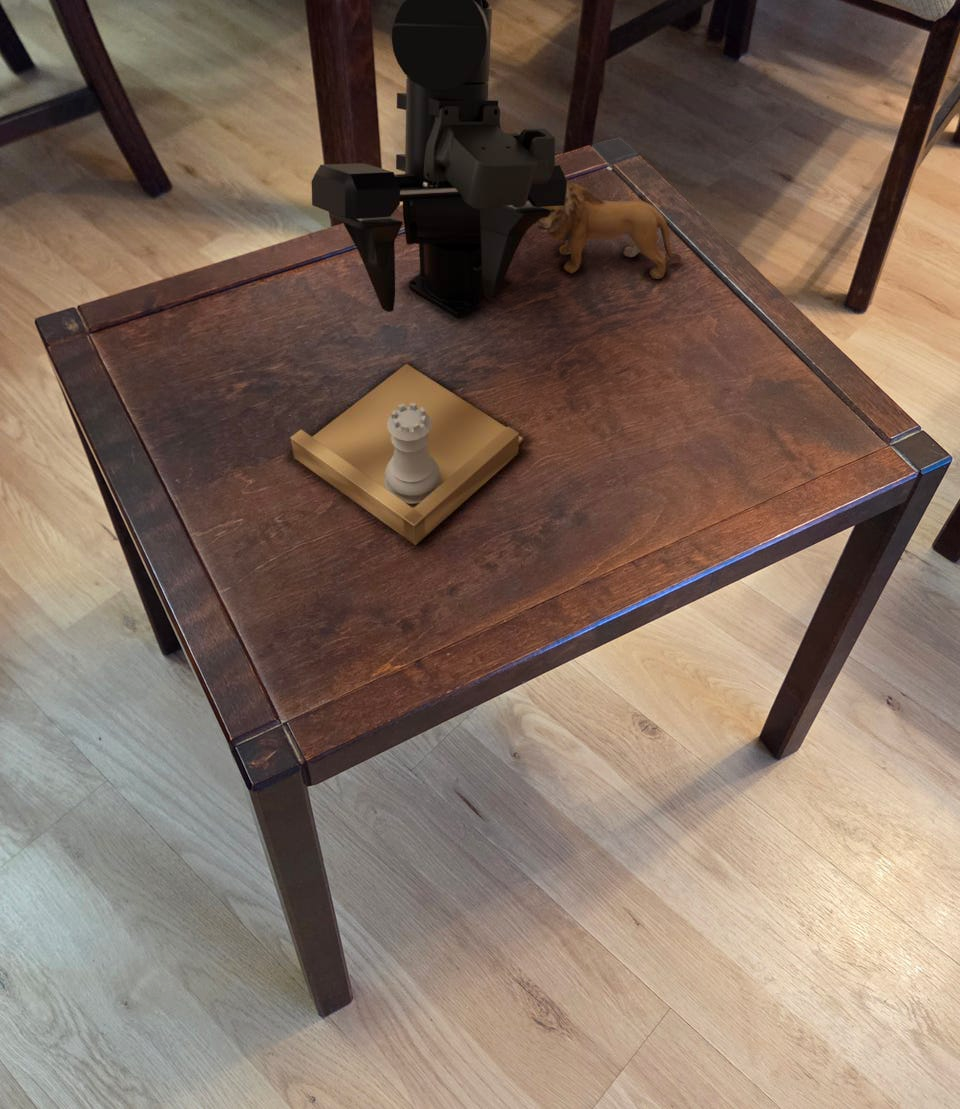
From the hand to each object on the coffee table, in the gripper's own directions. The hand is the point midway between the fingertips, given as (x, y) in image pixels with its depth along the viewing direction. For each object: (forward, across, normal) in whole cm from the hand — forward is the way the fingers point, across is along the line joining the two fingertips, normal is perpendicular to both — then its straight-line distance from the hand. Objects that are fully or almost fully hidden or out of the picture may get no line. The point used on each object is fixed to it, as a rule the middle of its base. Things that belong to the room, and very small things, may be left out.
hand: (440, 304), depth 80 cm
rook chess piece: (+14, -4, -2) cm, 14 cm away
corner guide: (+12, -2, +1) cm, 12 cm away
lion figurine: (+1, +23, +9) cm, 25 cm away
